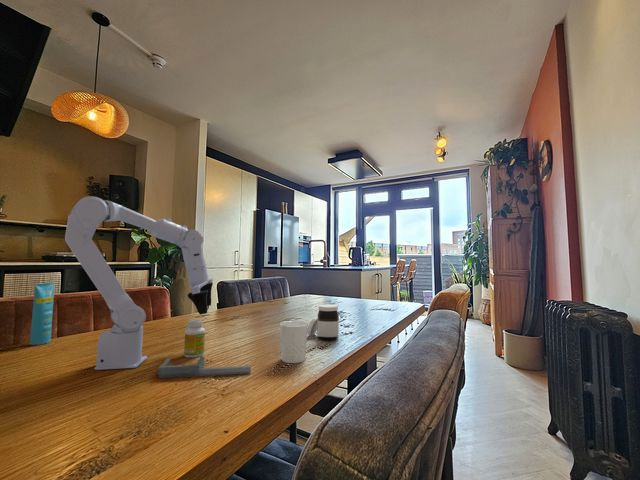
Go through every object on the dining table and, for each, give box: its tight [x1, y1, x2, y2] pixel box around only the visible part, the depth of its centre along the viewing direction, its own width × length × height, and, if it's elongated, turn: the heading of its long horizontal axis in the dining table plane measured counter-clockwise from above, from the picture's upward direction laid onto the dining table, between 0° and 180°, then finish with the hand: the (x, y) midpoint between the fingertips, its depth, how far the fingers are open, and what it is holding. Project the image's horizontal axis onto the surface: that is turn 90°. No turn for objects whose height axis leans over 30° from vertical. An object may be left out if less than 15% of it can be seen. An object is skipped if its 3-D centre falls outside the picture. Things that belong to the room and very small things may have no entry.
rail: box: [157, 356, 252, 379], centre depth 74 cm, size 21×6×2 cm, turn 101°
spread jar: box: [307, 303, 340, 342], centre depth 107 cm, size 12×11×12 cm
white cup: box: [279, 320, 309, 364], centre depth 84 cm, size 8×8×10 cm
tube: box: [29, 281, 55, 346], centre depth 95 cm, size 7×5×19 cm, turn 13°
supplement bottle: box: [183, 319, 206, 359], centre depth 86 cm, size 5×5×10 cm
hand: (205, 309), depth 93 cm, fingers open, 7 cm apart
